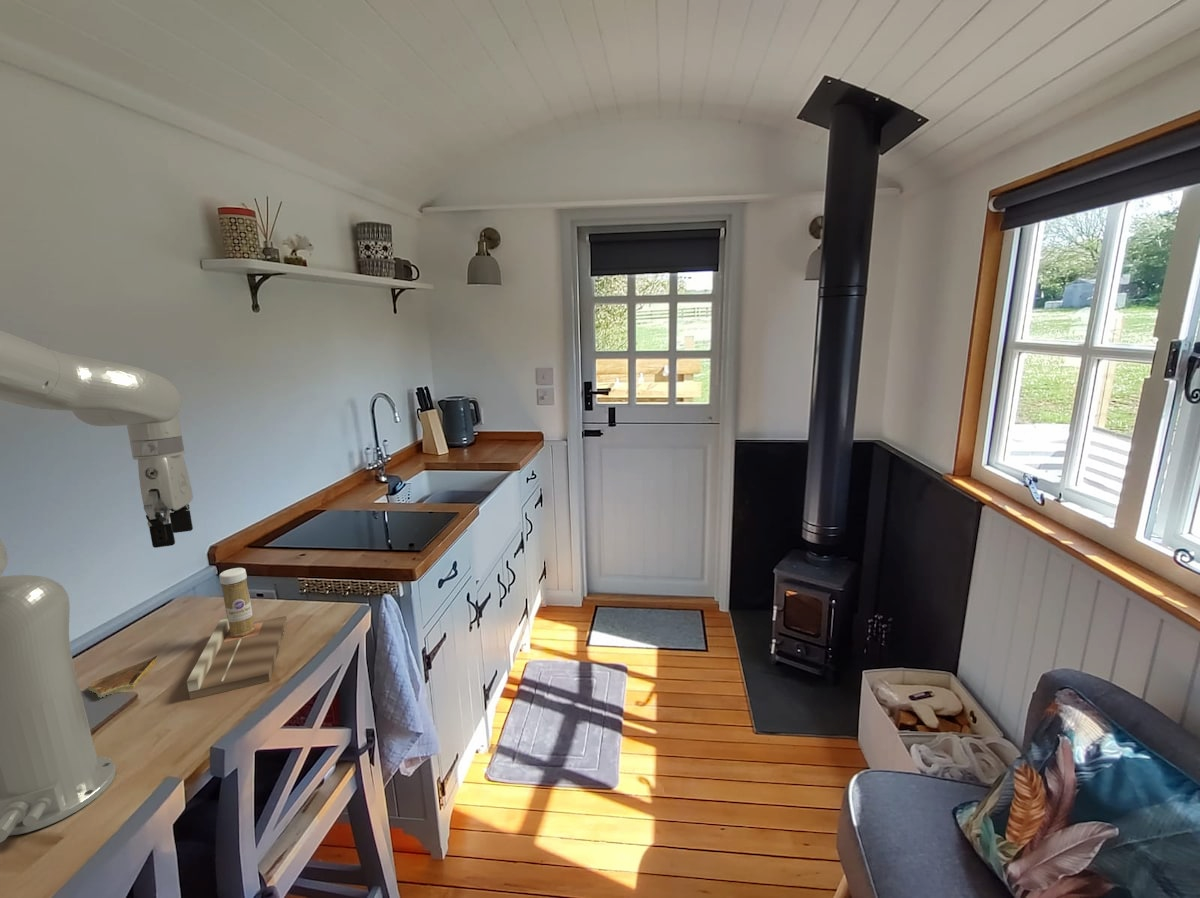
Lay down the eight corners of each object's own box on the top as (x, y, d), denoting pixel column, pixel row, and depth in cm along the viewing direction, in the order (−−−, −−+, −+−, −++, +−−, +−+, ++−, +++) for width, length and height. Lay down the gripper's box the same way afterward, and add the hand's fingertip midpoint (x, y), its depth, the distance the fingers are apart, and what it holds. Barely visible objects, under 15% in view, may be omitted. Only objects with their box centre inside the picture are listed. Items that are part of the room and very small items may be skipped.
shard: (159, 662, 110) (157, 653, 110) (176, 672, 106) (174, 663, 106) (88, 692, 101) (85, 683, 101) (104, 704, 97) (101, 695, 97)
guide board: (269, 681, 101) (266, 663, 100) (190, 699, 96) (186, 681, 96) (287, 622, 123) (284, 607, 122) (223, 635, 118) (220, 619, 118)
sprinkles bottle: (235, 640, 113) (224, 577, 110) (226, 634, 115) (214, 573, 113) (260, 630, 116) (249, 569, 114) (250, 624, 119) (239, 565, 116)
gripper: (165, 452, 95) (181, 549, 98) (197, 440, 111) (211, 523, 114) (110, 457, 93) (129, 556, 95) (151, 444, 109) (167, 529, 111)
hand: (174, 538), depth 105 cm, fingers open, 9 cm apart
